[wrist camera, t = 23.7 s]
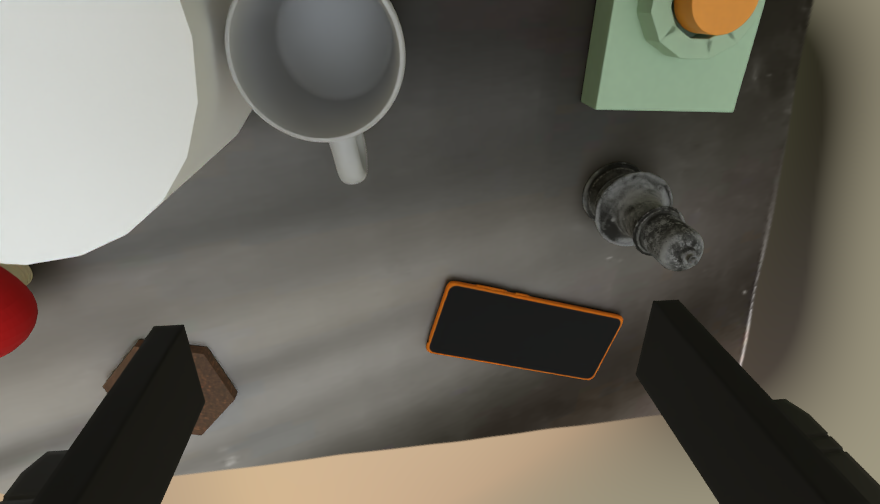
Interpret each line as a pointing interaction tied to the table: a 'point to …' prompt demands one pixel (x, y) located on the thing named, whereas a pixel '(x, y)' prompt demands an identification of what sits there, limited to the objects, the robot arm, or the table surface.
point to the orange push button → (713, 15)
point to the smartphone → (521, 331)
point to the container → (105, 116)
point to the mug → (318, 69)
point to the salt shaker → (641, 215)
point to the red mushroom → (15, 306)
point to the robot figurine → (211, 380)
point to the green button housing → (662, 60)
